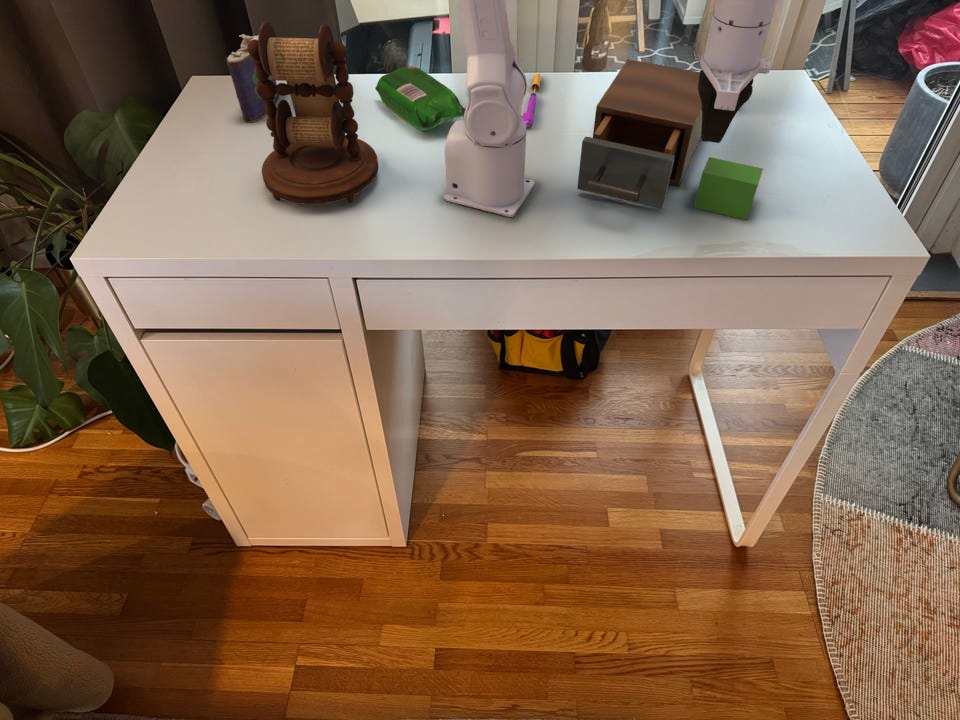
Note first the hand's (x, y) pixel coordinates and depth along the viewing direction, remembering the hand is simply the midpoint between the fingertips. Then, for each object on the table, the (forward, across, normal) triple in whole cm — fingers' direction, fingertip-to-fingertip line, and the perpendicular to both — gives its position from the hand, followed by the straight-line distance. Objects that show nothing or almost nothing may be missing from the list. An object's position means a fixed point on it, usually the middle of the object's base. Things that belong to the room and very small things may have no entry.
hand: (711, 139), depth 81 cm
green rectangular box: (+10, +2, -4) cm, 10 cm away
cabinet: (+9, +12, +7) cm, 17 cm away
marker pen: (+10, +21, +26) cm, 35 cm away
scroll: (+10, -6, +47) cm, 49 cm away
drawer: (+8, +2, +9) cm, 12 cm away
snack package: (+10, +13, +40) cm, 43 cm away
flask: (+10, +10, +64) cm, 65 cm away
